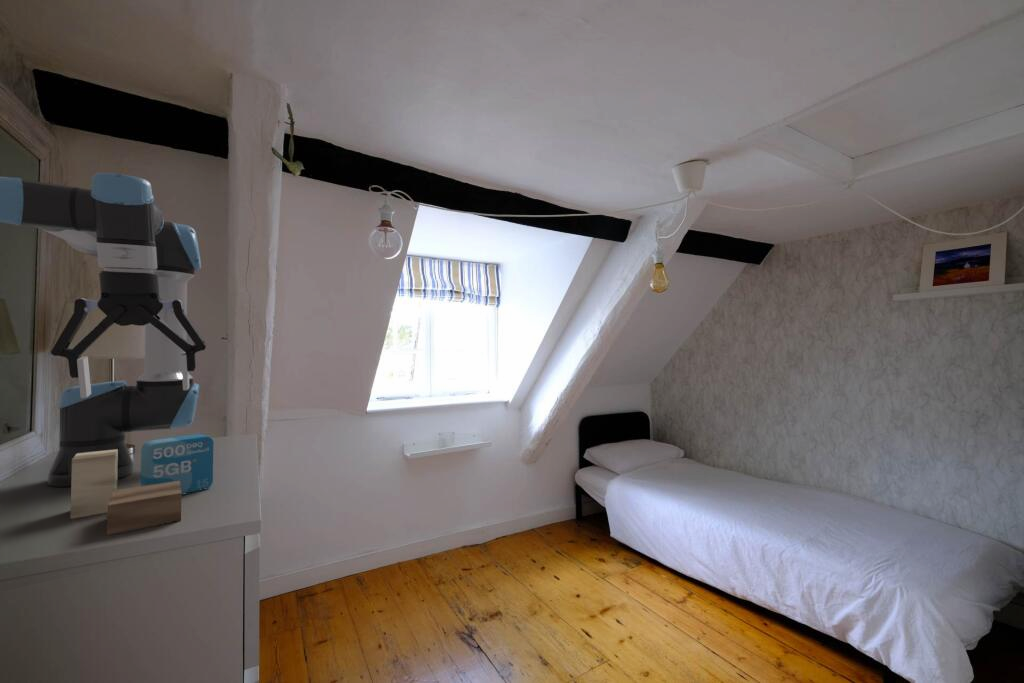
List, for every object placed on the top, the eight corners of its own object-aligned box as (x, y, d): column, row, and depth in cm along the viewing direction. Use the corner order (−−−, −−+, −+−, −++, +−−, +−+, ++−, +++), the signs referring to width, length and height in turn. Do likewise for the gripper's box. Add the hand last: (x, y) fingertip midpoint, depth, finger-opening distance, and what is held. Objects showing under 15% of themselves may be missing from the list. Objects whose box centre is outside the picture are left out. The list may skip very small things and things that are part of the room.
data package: (146, 502, 90) (147, 444, 90) (139, 498, 92) (141, 441, 92) (213, 487, 99) (214, 435, 100) (205, 484, 102) (206, 432, 102)
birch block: (75, 509, 86) (76, 453, 86) (116, 502, 89) (117, 449, 90) (70, 518, 81) (71, 459, 81) (114, 511, 85) (115, 454, 85)
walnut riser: (112, 517, 82) (112, 490, 82) (179, 505, 88) (179, 480, 88) (107, 534, 74) (107, 505, 74) (181, 520, 80) (181, 493, 80)
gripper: (12, 266, 64) (28, 405, 67) (217, 274, 77) (222, 390, 80) (32, 266, 70) (46, 393, 74) (218, 273, 84) (223, 381, 87)
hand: (138, 392), depth 77 cm, fingers open, 13 cm apart
